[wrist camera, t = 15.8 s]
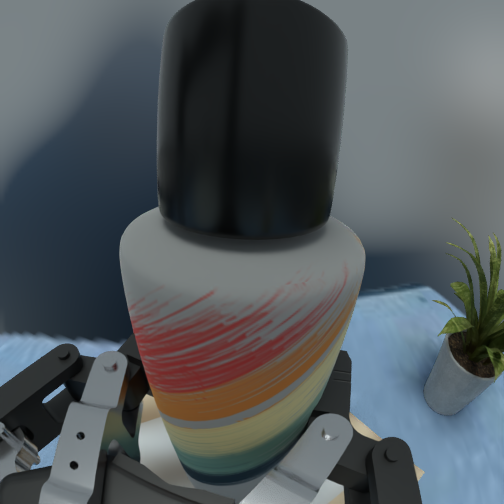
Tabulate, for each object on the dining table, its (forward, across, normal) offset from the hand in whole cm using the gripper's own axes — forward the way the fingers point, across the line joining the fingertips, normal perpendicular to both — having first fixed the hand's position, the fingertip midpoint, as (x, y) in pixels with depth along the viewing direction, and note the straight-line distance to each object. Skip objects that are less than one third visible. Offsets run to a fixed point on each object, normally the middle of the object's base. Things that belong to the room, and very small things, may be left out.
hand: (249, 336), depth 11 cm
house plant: (+8, -17, +12) cm, 22 cm away
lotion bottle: (-3, 0, +10) cm, 10 cm away
